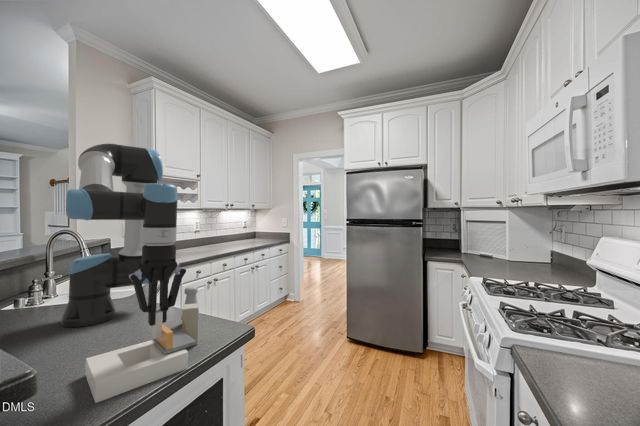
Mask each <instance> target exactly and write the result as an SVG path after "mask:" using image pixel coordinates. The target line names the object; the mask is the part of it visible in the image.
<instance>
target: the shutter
mask: <svg viewBox="0 0 640 426" xmlns="http://www.w3.org/2000/svg"><path fill="white" fill-rule="evenodd" d="M152 340H153V343H154V344H155V345H156V346H157V347H158V348H159V349H160V350H161V351H162V352H163V353H164V354H167V353H170V352H173V351H176V350H180V349H183V348H184V349H186V348H188V347H192V345H193V346H196V345H195V344H196V340H194V339H193V338H192V337H190V336H189V335H187V334H186V333H185V332H183V331H182V330H181V331H176V332H174V331H173V330H172V329H170V328H169V327H168V326H166V325H165V324H164V323H162V337H161V338H158V339H155V338H152Z"/></svg>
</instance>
